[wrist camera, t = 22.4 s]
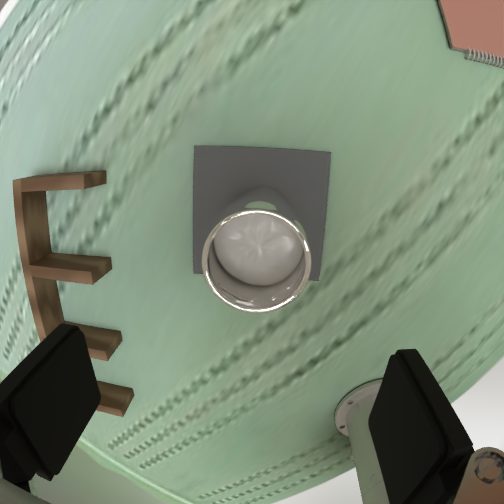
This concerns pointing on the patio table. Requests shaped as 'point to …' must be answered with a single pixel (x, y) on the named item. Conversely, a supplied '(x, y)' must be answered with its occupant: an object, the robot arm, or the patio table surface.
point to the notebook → (475, 28)
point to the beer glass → (257, 253)
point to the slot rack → (62, 272)
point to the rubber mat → (260, 175)
